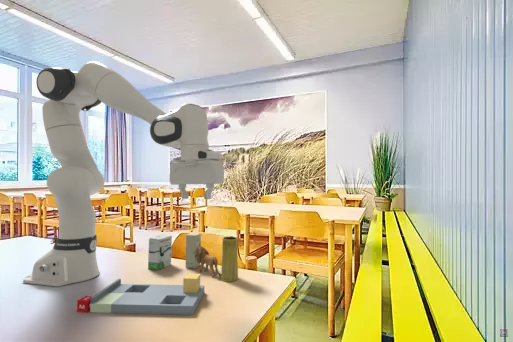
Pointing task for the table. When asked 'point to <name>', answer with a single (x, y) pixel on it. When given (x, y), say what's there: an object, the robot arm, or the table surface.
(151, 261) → the ink box
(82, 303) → the red letter cube
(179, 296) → the board
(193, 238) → the box
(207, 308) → the table surface
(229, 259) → the vase
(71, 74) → the robot arm
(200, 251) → the lion figurine
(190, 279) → the block
